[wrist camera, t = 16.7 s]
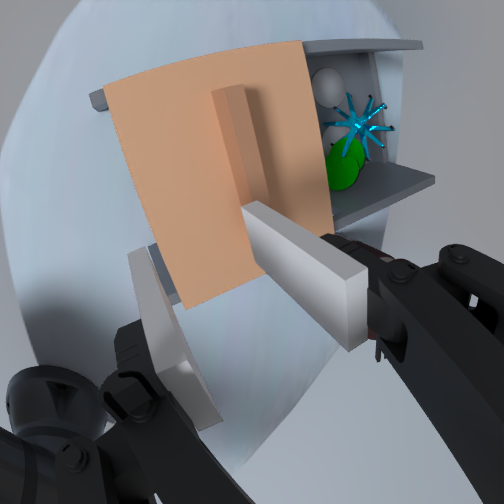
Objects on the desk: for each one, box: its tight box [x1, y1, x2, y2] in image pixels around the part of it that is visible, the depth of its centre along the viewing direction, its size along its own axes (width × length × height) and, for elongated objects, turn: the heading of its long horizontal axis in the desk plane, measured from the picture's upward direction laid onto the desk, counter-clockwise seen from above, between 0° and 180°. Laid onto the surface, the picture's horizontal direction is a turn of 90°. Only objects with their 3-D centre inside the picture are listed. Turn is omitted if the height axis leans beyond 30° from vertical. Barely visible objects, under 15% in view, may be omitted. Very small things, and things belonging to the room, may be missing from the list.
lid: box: [103, 40, 335, 310], centre depth 21 cm, size 14×17×4 cm
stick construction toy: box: [323, 92, 395, 191], centre depth 34 cm, size 12×7×8 cm, turn 161°
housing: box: [89, 39, 435, 306], centre depth 29 cm, size 32×17×10 cm, turn 104°
